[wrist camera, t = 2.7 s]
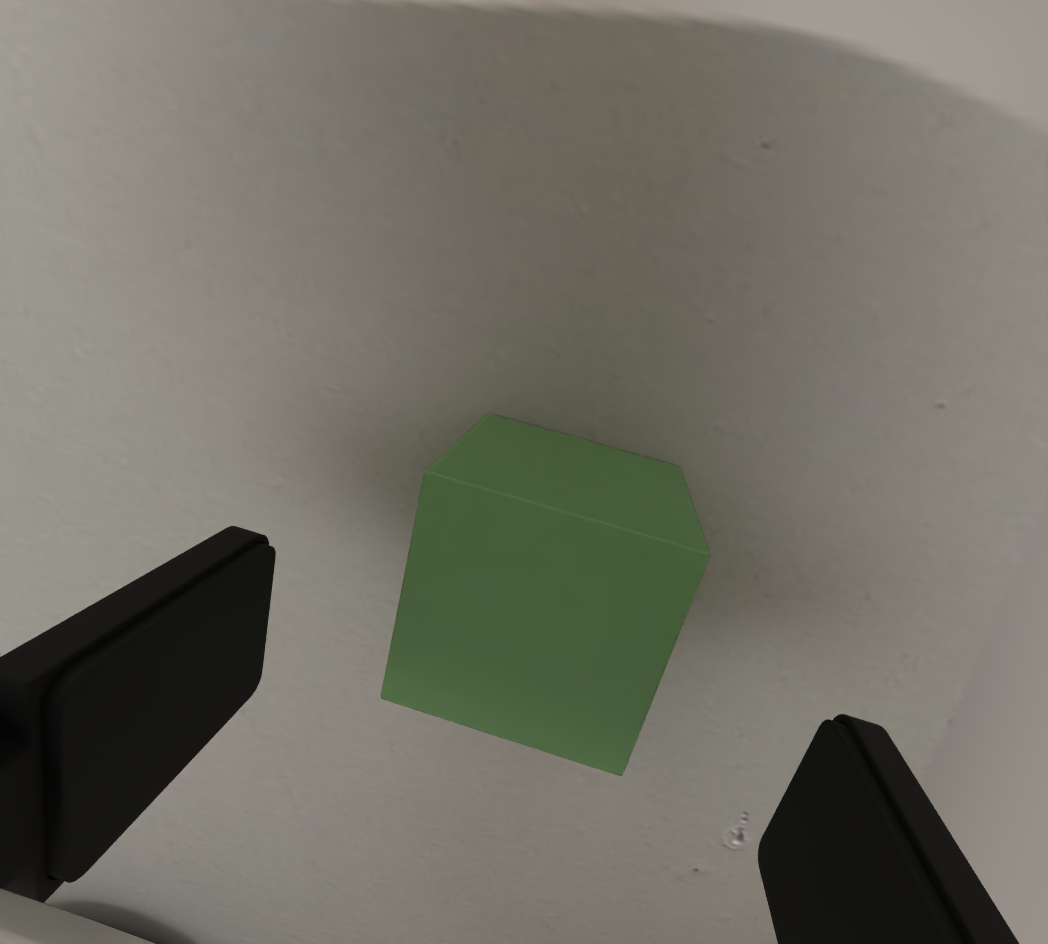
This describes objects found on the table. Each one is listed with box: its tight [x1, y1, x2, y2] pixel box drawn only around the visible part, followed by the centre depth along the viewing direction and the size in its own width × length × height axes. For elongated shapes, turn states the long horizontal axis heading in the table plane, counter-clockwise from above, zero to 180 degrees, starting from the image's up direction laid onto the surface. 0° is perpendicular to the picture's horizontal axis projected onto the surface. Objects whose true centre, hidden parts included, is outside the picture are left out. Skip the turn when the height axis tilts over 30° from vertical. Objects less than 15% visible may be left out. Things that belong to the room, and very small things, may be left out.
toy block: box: [381, 413, 710, 776], centre depth 13 cm, size 5×5×5 cm
